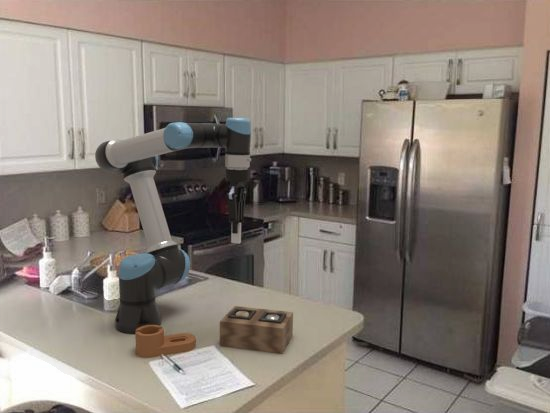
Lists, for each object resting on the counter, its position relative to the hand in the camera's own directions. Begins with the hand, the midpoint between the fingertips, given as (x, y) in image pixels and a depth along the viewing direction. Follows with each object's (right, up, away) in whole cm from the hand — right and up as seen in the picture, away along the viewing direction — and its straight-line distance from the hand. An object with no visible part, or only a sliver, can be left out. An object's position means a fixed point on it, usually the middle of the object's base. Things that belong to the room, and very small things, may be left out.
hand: (236, 242), depth 158 cm
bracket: (-21, -32, -6) cm, 39 cm away
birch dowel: (+2, -30, +2) cm, 31 cm away
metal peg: (+11, -31, 0) cm, 33 cm away
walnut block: (+7, -31, +1) cm, 32 cm away
